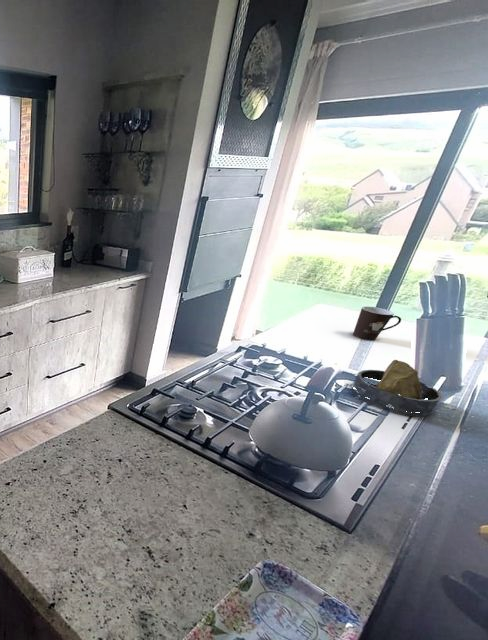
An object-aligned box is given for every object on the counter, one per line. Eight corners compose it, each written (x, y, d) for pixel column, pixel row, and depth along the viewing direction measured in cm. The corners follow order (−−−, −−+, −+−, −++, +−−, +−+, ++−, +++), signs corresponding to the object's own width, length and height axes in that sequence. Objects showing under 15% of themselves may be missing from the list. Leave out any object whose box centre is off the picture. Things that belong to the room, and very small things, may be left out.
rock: (425, 388, 106) (378, 371, 111) (446, 374, 99) (396, 356, 104) (408, 421, 104) (362, 402, 109) (429, 408, 97) (378, 389, 102)
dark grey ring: (413, 391, 111) (422, 377, 108) (445, 422, 97) (456, 407, 95) (342, 379, 116) (349, 365, 114) (363, 407, 103) (372, 392, 100)
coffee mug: (348, 336, 145) (361, 310, 140) (349, 330, 150) (362, 304, 146) (390, 346, 138) (406, 319, 133) (390, 339, 144) (405, 312, 139)
